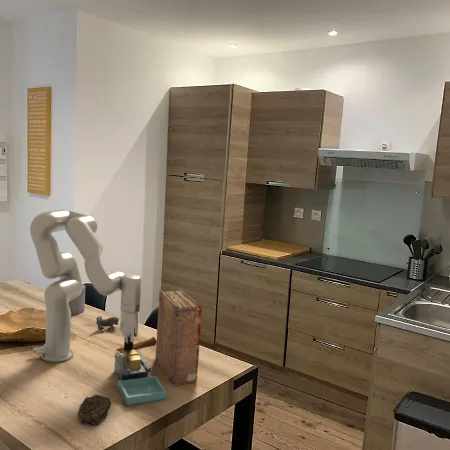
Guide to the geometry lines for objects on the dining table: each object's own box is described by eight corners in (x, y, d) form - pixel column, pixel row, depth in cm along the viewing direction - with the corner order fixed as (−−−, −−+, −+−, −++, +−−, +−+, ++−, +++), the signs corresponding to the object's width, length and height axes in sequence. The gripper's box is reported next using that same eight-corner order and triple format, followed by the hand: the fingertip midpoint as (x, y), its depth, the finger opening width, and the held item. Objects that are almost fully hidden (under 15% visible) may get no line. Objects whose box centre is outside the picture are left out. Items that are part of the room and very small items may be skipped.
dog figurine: (98, 333, 221) (98, 318, 220) (94, 329, 226) (94, 314, 225) (122, 330, 228) (123, 315, 227) (118, 326, 233) (118, 311, 232)
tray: (126, 406, 159) (127, 397, 158) (117, 388, 170) (118, 380, 170) (166, 399, 165) (166, 391, 164) (155, 383, 176) (155, 375, 176)
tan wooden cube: (126, 362, 179) (127, 354, 178) (124, 358, 182) (124, 350, 182) (137, 361, 181) (137, 353, 180) (134, 356, 184) (134, 349, 184)
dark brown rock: (91, 404, 159) (92, 390, 158) (116, 412, 155) (117, 397, 154) (68, 420, 148) (69, 405, 147) (95, 429, 144) (95, 413, 144)
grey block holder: (124, 389, 170) (125, 371, 169) (113, 369, 185) (114, 352, 184) (151, 385, 174) (152, 367, 173) (138, 366, 189) (139, 350, 188)
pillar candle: (65, 308, 253) (66, 281, 251) (84, 307, 256) (85, 281, 254) (65, 314, 244) (66, 286, 242) (84, 314, 247) (85, 286, 245)
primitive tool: (121, 355, 200) (121, 347, 200) (114, 351, 204) (114, 343, 203) (157, 345, 214) (157, 337, 213) (150, 341, 218) (150, 334, 217)
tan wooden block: (130, 368, 174) (130, 360, 174) (127, 363, 177) (128, 356, 177) (141, 366, 176) (141, 359, 175) (138, 362, 179) (138, 355, 179)
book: (155, 358, 198) (159, 289, 194) (176, 356, 202) (180, 288, 198) (173, 386, 175) (178, 308, 172) (196, 382, 179) (202, 307, 175)
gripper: (116, 301, 188) (114, 345, 190) (125, 313, 175) (123, 360, 177) (134, 300, 191) (132, 343, 193) (145, 312, 178) (142, 358, 180)
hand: (128, 351), depth 185 cm, fingers closed
